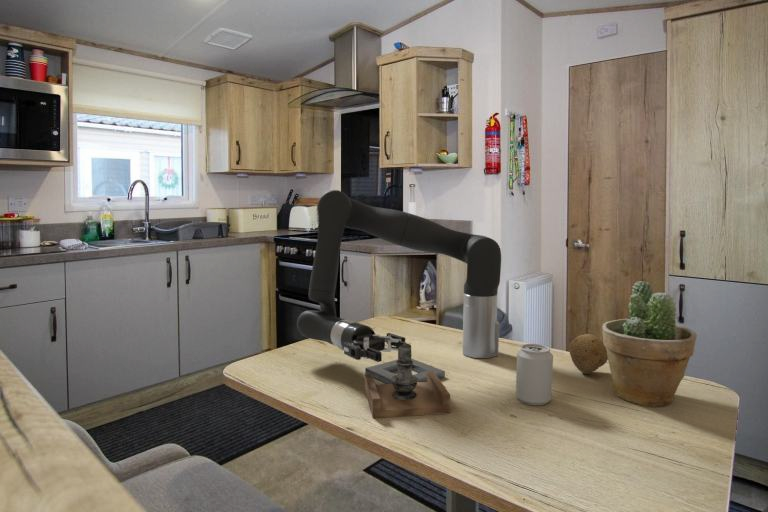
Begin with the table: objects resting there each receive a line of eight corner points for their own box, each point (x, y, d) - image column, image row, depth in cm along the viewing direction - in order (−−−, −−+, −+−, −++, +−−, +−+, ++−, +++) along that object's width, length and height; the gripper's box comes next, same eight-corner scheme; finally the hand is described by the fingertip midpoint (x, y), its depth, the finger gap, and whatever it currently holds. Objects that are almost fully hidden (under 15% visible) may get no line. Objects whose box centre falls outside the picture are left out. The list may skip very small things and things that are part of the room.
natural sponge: (587, 365, 135) (589, 328, 134) (615, 376, 127) (617, 337, 126) (561, 369, 132) (562, 332, 130) (587, 381, 123) (589, 341, 122)
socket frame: (407, 362, 137) (407, 356, 137) (444, 377, 126) (445, 371, 126) (365, 373, 128) (365, 367, 128) (401, 390, 118) (401, 384, 117)
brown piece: (433, 387, 119) (433, 371, 119) (449, 413, 106) (450, 394, 105) (364, 391, 117) (364, 374, 116) (372, 418, 103) (372, 398, 103)
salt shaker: (409, 402, 107) (410, 346, 106) (385, 396, 110) (385, 342, 109) (422, 393, 112) (423, 339, 111) (399, 387, 115) (399, 335, 114)
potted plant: (712, 409, 107) (722, 292, 104) (636, 418, 103) (644, 296, 100) (648, 379, 125) (655, 278, 122) (581, 385, 121) (586, 281, 118)
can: (551, 395, 115) (553, 343, 113) (550, 409, 108) (553, 353, 106) (517, 391, 117) (518, 340, 116) (514, 404, 110) (515, 350, 109)
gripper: (327, 327, 120) (369, 342, 108) (375, 317, 129) (419, 331, 117) (328, 357, 121) (369, 377, 109) (375, 346, 130) (419, 363, 118)
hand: (395, 353), depth 113 cm, fingers open, 8 cm apart
